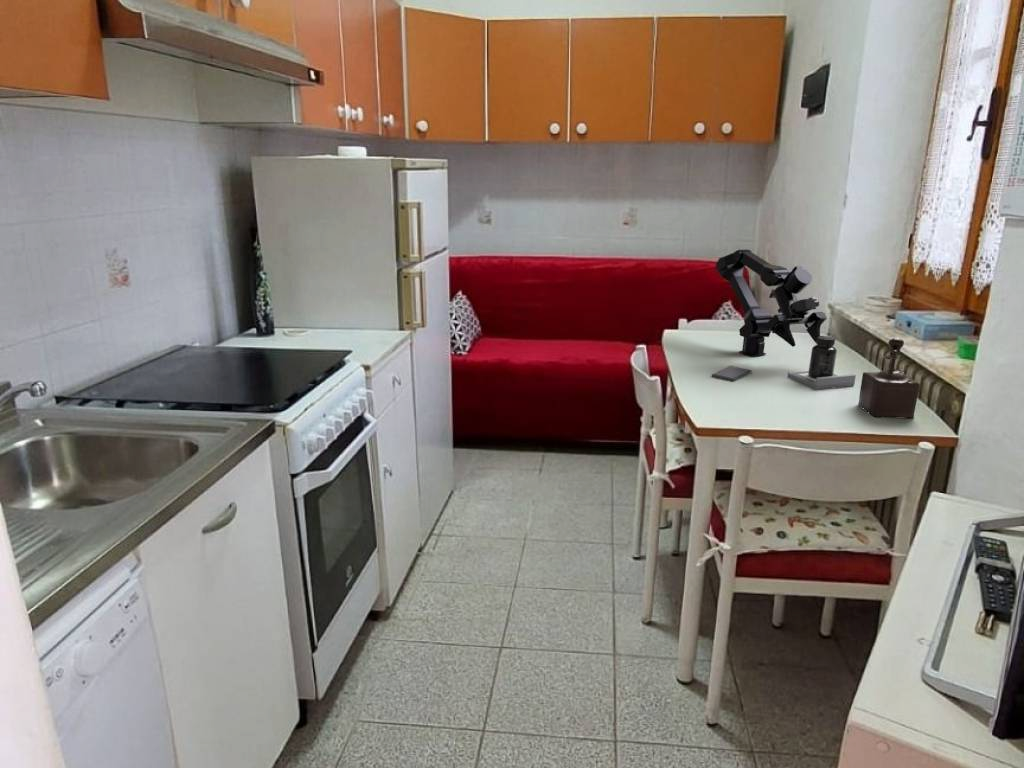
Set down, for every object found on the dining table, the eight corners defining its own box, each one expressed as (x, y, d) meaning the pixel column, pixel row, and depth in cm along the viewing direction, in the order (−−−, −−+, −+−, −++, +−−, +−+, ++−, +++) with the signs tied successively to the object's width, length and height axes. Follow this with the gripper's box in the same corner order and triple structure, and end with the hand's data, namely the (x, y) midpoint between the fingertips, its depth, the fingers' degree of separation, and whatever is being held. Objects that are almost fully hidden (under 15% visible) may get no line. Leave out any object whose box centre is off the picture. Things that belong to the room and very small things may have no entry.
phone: (711, 376, 213) (712, 374, 213) (730, 368, 223) (730, 365, 222) (733, 381, 209) (734, 378, 209) (751, 372, 218) (751, 369, 218)
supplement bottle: (837, 377, 210) (843, 338, 206) (824, 381, 206) (831, 341, 202) (815, 372, 215) (821, 334, 211) (803, 375, 211) (809, 336, 207)
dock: (787, 376, 214) (789, 366, 214) (822, 373, 218) (824, 363, 217) (817, 389, 203) (819, 378, 202) (854, 385, 207) (855, 375, 206)
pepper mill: (917, 419, 180) (931, 351, 175) (873, 417, 181) (885, 349, 175) (889, 399, 195) (901, 336, 190) (849, 398, 196) (859, 335, 190)
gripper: (777, 288, 212) (796, 333, 205) (827, 286, 217) (848, 329, 211) (757, 309, 221) (775, 352, 215) (806, 306, 227) (825, 348, 220)
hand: (806, 345), depth 215 cm, fingers open, 9 cm apart
